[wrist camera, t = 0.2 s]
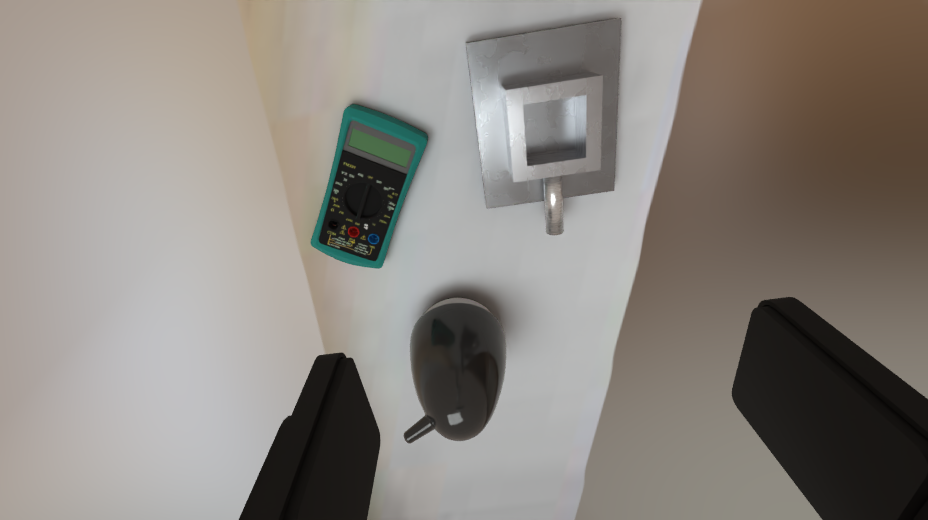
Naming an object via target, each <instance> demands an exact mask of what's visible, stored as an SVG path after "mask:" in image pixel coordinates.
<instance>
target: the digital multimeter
mask: <svg viewBox="0 0 928 520" xmlns="http://www.w3.org/2000/svg"><path fill="white" fill-rule="evenodd" d="M427 141H428V136H427V134H426V133H424V132H422V131H420V130H418V129H416V128H415V127H413V126H411V125H409V124H406V123H404V122H402V121H400V120H398V119H396V118H393V117H391V116H388V115H386V114H383V113H380V112H378V111H375V110H372V109H369V108H366V107H363V106H359V105H356V104H352V105H350V106H348V107H347V108H346V109H345V110H344V113H343V118H342V123H341V128H340V133H339V138H338V143H337V148H336V152H335V157H334V161H333V165H332V169H331V174H330V178H329V182H328V186H327V190H326V193H325V197H324V200H323V204H322V207H321V210H320V214H319V217H318V221H317V224H316V227H315V230H314V233H313V236H312V239H311V245H312V246H313V247H314V248H316V249H318V250H320V251H321V252H323V253H325V254H327V255H329V256H331V257H333V258H335V259H337V260H339V261H342V262H345V263H348V264H352V265H357V266H362V267H370V268H381V267H382V266H383V263H384V260H385V256H386V253H387V250H388V246H389V243H390V240H391V237H392V234H393V230H394V227H395V224H396V221H397V218H398V215H399V213H400V210H401V207H402V205H403V202H404V199H405V197H406V194H407V191H408V189H409V186H410V183H411V181H412V179H413V176H414V174H415V171H416V169H417V166H418V164H419V162H420V159H421V157H422V154H423V152H424V150H425V147H426V145H427ZM343 205H344V206H343ZM322 224H323V225H322ZM321 228H322V229H321ZM381 247H382V248H381Z"/></svg>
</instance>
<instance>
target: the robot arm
mask: <svg viewBox="0 0 928 520" xmlns="http://www.w3.org/2000/svg"><path fill="white" fill-rule="evenodd" d="M732 397H733V400H734V403H735V405H736V406H737V408H738V409H739V411H740V412H741V413H742V414H743V416H744V417H745V418H746V419H747V421H748V422H749V424H750V425H751V426H752V428H753V429H754V430H755V432H756V433H757V434H758V435H759V437H760V438H761V439H762V441H763V442H764V443H765V445H766V446H767V447H768V449H769V450H770V451H771V453H772V454H773V455H774V456H775V458H776V459H777V460H778V462H779V463H780V464H781V466H782V467H783V468H784V469H785V471H786V472H787V473H788V475H789V476H790V477H791V479H792V480H793V481H794V483H795V484H796V485H797V487H798V488H799V489H800V491H801V492H802V493H803V495H804V496H805V497H806V498H807V500H808V501H809V502H810V504H811V505H812V506H813V507H814V509H815V510H816V512H817V513H818V514H819V516H820V517H821V518H822V519H823V520H928V399H927V398H925V397H924V396H923V395H921V394H920V393H919V392H917V391H916V390H915V389H913V388H912V387H911V386H910V385H908V384H907V383H906V382H905V381H903V380H902V379H901V378H899V377H898V376H897V375H895V374H894V373H893V372H892V371H890V370H889V369H887V368H886V367H885V366H884V365H882V364H881V363H880V362H879V361H877V360H876V359H875V358H873V357H872V356H871V355H869V354H868V353H867V352H865V351H864V350H863V349H861V348H860V347H859V346H858V345H856V344H855V343H854V342H853V341H851V340H850V339H848V338H847V337H846V336H845V335H843V334H842V333H841V332H839V331H838V330H837V329H836V328H834V327H833V326H832V325H830V324H829V323H828V322H826V321H825V320H824V319H822V318H821V317H820V316H819V315H817V314H816V313H815V312H813V311H812V310H811V309H810V308H808V307H807V306H806V305H804V304H803V303H802V302H800V301H799V300H797V299H795V298H793V297H786V298H778V299H770V300H764V301H761V302H760V303H759V305H758V307H757V308H755V309H754V310H753V311H752V314H751V318H750V322H749V325H748V329H747V333H746V337H745V341H744V345H743V349H742V352H741V357H740V361H739V365H738V368H737V372H736V376H735V380H734V384H733V388H732ZM379 449H380V432H379V429H378V426H377V423H376V420H375V418H374V415H373V412H372V409H371V407H370V404H369V401H368V398H367V396H366V393H365V390H364V387H363V385H362V382H361V379H360V376H359V374H358V371H357V368H356V365H355V363H354V360H353V359H352V358H346V356H345V354H344V353H334V354H326V355H319V356H318V357H317V358H316V360H315V361H314V364H313V366H312V369H311V371H310V373H309V376H308V378H307V380H306V383H305V385H304V387H303V390H302V392H301V395H300V397H299V399H298V402H297V404H296V406H295V408H294V411H293V413H292V415H291V416H288V417H287V418H286V419H285V420H284V421H283V423H282V424H281V426H280V428H279V430H278V432H277V435H276V437H275V439H274V442H273V444H272V446H271V448H270V450H269V453H268V455H267V457H266V459H265V462H264V464H263V466H262V468H261V471H260V473H259V475H258V477H257V480H256V482H255V484H254V486H253V489H252V491H251V493H250V495H249V498H248V500H247V502H246V504H245V507H244V509H243V512H242V514H241V516H240V518H239V520H367V516H368V510H369V505H370V499H371V494H372V488H373V482H374V477H375V471H376V466H377V460H378V455H379Z"/></svg>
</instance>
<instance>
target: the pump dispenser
mask: <svg viewBox="0 0 928 520" xmlns="http://www.w3.org/2000/svg"><path fill="white" fill-rule="evenodd" d="M410 360H411V371H412V377H413V382H414V386H415V390H416V393H417V396H418V399H419V402H420V404H421V406H422V408H423V410H424V412H425V416H424V417H423V418H422V419H420V420H419V421H418V422H417V423H416V424H414V425H413V426H412V427H411V428H409V429H408V430H407V431H406V432H405V433H404V439H405V440H406V442H407V443H412V442H414V441H415V440H417V439H419V438H420V437H422V436H424V435H425V434H427V433H429V432H430V431H432V430H434V429H435V430H436V431H437V432H438V433H440V434H441V435H442V436H444V437H445V438H447V439H450V440H453V441H465V440H469V439H471V438H473V437H475V436H477V435H478V434H479V433H480V432H481V431H482V430H483V429H484V428H485V427H486V425H487V424H488V422H489V421H490V419H491V417H492V415H493V413H494V411H495V408H496V405H497V403H498V400H499V396H500V393H501V389H502V385H503V381H504V375H505V368H506V339H505V334H504V330H503V327H502V325H501V324H500V322H499V321H498V319H497V318H496V317H495V316H494V315H493V314H492V313H491V312H490V311H489V310H488V309H487V308H486V307H484V306H483V305H481V304H480V303H478V302H476V301H473V300H470V299H465V298H451V299H446V300H443V301H440V302H438V303H436V304H435V305H433V306H432V307H430V308H429V309H428V310H427V311H426V312H425V313H424V315H423V316H422V317H421V318H420V319H419V320H418V321H417V323H416V324H415V326H414V328H413V331H412V334H411V340H410Z"/></svg>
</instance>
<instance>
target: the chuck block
mask: <svg viewBox="0 0 928 520" xmlns="http://www.w3.org/2000/svg"><path fill="white" fill-rule="evenodd" d="M620 36H621V18H616V19H609V20H603V21H597V22H591V23H585V24H579V25H572V26H566V27H560V28H554V29H548V30H542V31H536V32H530V33H524V34H517V35H511V36H505V37H499V38H493V39H487V40H481V41H475V42H469V43H466V49H467V57H468V65H469V73H470V81H471V89H472V97H473V105H474V113H475V121H476V129H477V137H478V145H479V153H480V161H481V169H482V177H483V185H484V193H485V201H486V207H487V209H489V208H496V207H503V206H510V205H517V204H524V203H531V202H538V201H545V219H546V233H547V234H549V235H559V234H562V233H563V231H564V228H563V198H566V197H573V196H580V195H587V194H594V193H601V192H608V191H614V182H615V158H616V133H617V109H618V85H619V61H620Z"/></svg>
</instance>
